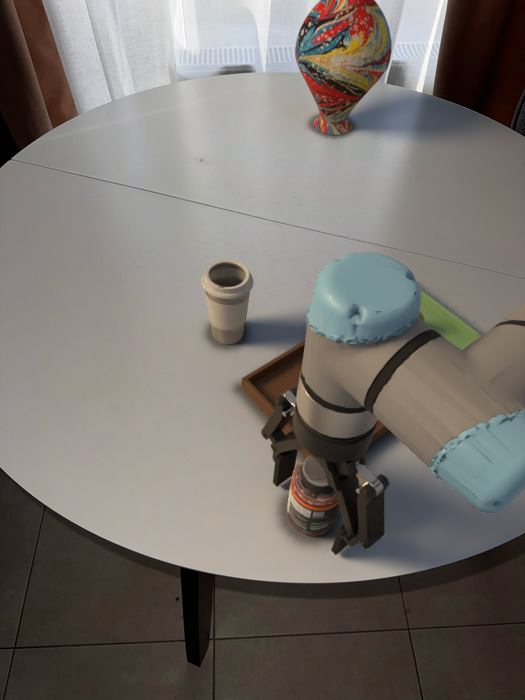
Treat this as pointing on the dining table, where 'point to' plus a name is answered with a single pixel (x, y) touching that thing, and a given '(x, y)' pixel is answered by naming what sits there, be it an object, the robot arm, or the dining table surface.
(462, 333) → the green tray
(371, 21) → the vase
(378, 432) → the walnut tray
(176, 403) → the dining table surface
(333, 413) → the robot arm
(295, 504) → the supplement bottle
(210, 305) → the cup
